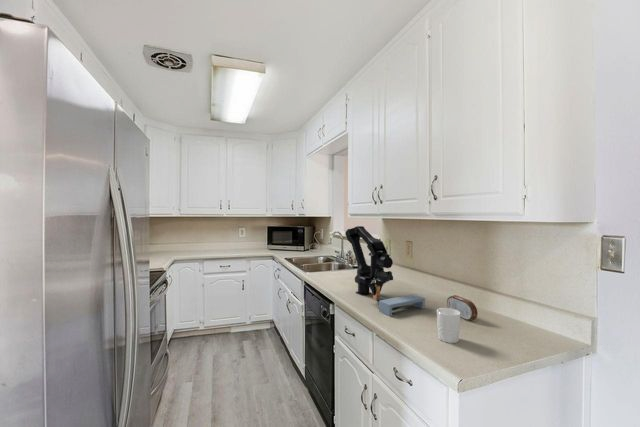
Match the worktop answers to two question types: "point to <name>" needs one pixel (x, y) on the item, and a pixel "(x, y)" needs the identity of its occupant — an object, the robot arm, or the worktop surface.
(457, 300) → the tin
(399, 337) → the worktop surface
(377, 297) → the hook tool
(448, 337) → the white cup
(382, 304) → the bench
